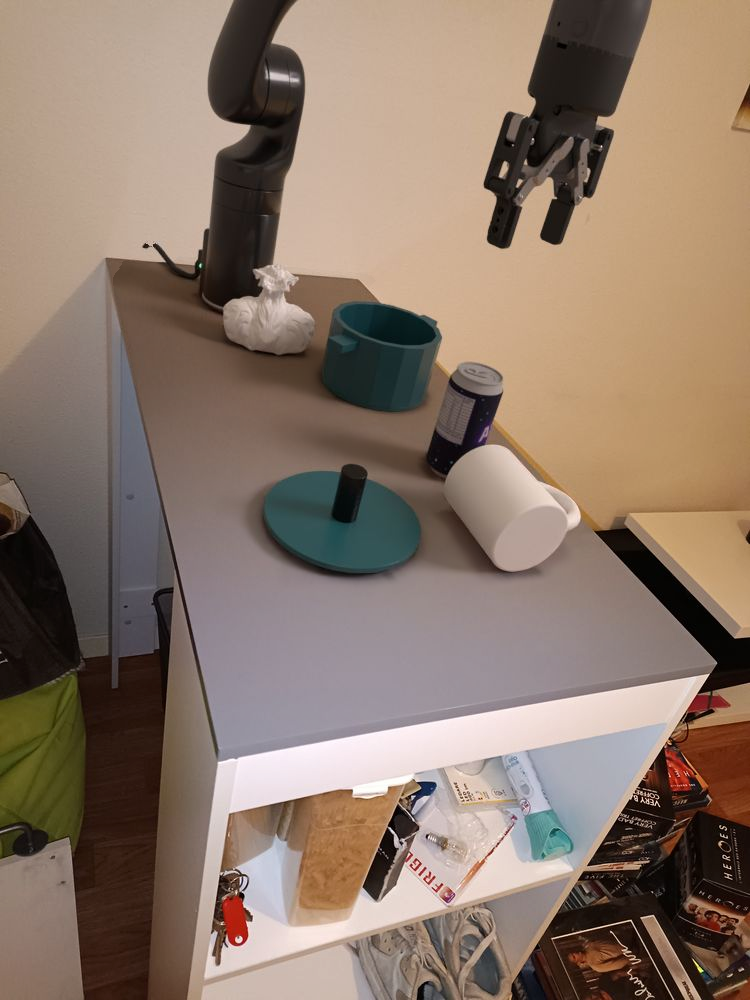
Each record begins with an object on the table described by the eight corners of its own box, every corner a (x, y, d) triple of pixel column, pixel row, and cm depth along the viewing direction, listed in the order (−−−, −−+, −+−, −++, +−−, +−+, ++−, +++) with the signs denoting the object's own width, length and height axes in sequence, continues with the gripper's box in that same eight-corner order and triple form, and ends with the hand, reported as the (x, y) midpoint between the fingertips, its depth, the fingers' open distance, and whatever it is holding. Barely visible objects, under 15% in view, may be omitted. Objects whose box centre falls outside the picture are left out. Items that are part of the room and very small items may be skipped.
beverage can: (471, 490, 79) (506, 391, 73) (420, 475, 79) (450, 375, 73) (475, 464, 84) (508, 369, 77) (427, 450, 84) (456, 354, 78)
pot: (284, 377, 92) (294, 312, 87) (379, 350, 105) (393, 293, 100) (365, 427, 86) (381, 360, 81) (455, 392, 99) (473, 333, 94)
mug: (480, 576, 67) (508, 506, 63) (434, 510, 74) (456, 443, 70) (583, 565, 72) (616, 500, 68) (531, 505, 79) (557, 442, 75)
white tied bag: (307, 366, 101) (318, 286, 101) (313, 353, 93) (325, 267, 94) (218, 351, 98) (230, 269, 99) (217, 336, 91) (230, 248, 92)
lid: (228, 511, 67) (236, 454, 64) (336, 465, 77) (348, 413, 74) (347, 602, 60) (363, 544, 57) (448, 538, 71) (466, 486, 68)
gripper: (595, 44, 66) (535, 228, 74) (501, 17, 56) (445, 232, 65) (670, 63, 62) (597, 255, 71) (582, 37, 52) (511, 263, 61)
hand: (524, 244), depth 68 cm, fingers open, 8 cm apart
